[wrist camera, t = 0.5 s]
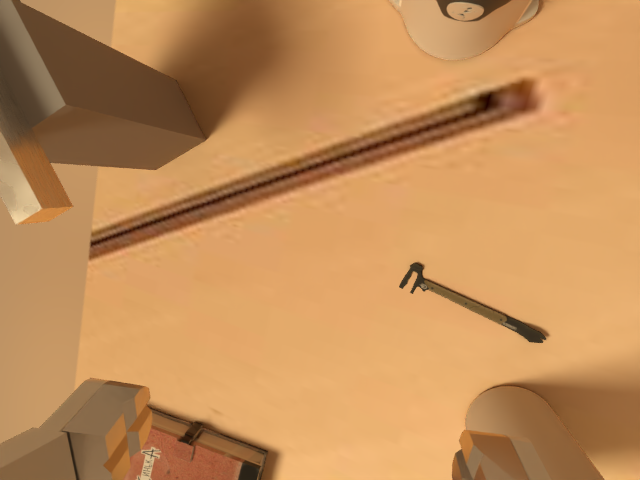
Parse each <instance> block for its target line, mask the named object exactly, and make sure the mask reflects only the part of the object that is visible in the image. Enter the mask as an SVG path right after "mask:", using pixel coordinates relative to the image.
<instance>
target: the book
mask: <svg viewBox="0 0 640 480" xmlns="http://www.w3.org/2000/svg"><path fill="white" fill-rule="evenodd" d="M150 410H151V411H152V425H151V429H150V432H149V435H148V438H147V440H146V442H145V444H144V446H143V447H142V449H141V450H140V451H139V452H137V453H136V454H134V455H133V456H131V457H130V466H131V467H130V469H129V470H128V472H127V474H126V475H125V477H124V479H123V480H260V479H261V476H262V472H263V468H264V464H265V460H266V456H267V452H268V451H265V450H263V449H260V448H257V447H255V446H252V445H249V444H246V443H244V442H241V441H238V440H236V439H233V438H230V437H227V436H225V435H222V434H219V433H217V432H214V431H211V430H208V429H206V428H203V427H202V426H203V425H202V424H199V423H196V422H194V423H193V424H192V423H189V422H187V421H184V420H181V419H179V418H176V417H173V416H171V415H168V414H165V413H162V412H160V411H157V410H154V409H152V408H150Z"/></svg>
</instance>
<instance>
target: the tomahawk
mask: <svg viewBox="0 0 640 480" xmlns="http://www.w3.org/2000/svg"><path fill="white" fill-rule="evenodd" d="M410 267H411V269H410V270H409V271H408V273H407V274H406V275H405V277H404V278H403V280H402V282H401V284H400V286H399V287H400V288H402V289H403V287H404V286H405V285H406V284H407V281H408V279H409V278H410V277H411V273H412V272H413V271H415V272H417V273H418V276H417V279H416V281H415V283H414V286H413V288H412V290H411V292H410V293H412V294H413V292H414V290H415V289H416V287H420V288H421V289H422V290H423V291H425V290H428V289H429V290H430V291H432V292H435V293H436V294H438V295H441V296H443V297H445V298H448V299H449V300H451V301H453V302H455V303H457V304H459V305H461V306H463V307H465V308H467V309H469V310H471V311H473V312H475V313H478V314H480V315H483V316H484V317H486V318H488V319H490V320H492V321H494V322H497V323H498V324H501V325H503V326H505V327H507V328H509V329H511V330H513V331H515V332H517V333H519V334H520V335H522V336H523V337H525V338H526V339H527V340H528V341H529V342H534V343H543V341H542V340H541V339H540V338H542V339H544V340H546V338H545V336H544V335H543V334H542V333H540V332H539V331H536V330H534V329H532V328H530V327H528V326H527V325H525V324H523V323H522V322H520V321H517V320H515V319H513V318H511V317H509V316H506V315H504V314H502V313H500V312H497V311H496V310H493V309H491V308H488V307H486V306H483V305H482V304H480V303H477V302H475V301H473V300H471V299H469V298H466V297H464V296H462V295H460V294H457V293H455V292H453V291H451V290H449V289H446V288H444V287H442V286H440V285H438V284H435V283H433V282H431V281H429V280H426V279H424V278H423V277H422V265H419V264H417V263H413V264H412V265H410Z"/></svg>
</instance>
